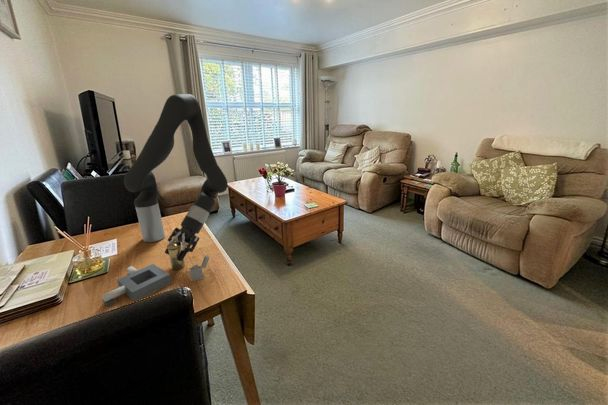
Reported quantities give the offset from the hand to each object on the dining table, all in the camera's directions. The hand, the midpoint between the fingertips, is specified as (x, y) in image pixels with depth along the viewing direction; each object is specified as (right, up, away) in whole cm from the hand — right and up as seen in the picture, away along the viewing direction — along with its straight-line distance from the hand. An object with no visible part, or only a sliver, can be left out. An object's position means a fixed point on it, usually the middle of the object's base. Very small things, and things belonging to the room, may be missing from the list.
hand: (172, 257), depth 101 cm
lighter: (+13, -7, -5) cm, 15 cm away
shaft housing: (-9, -9, -9) cm, 15 cm away
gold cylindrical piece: (+1, -4, +3) cm, 5 cm away
